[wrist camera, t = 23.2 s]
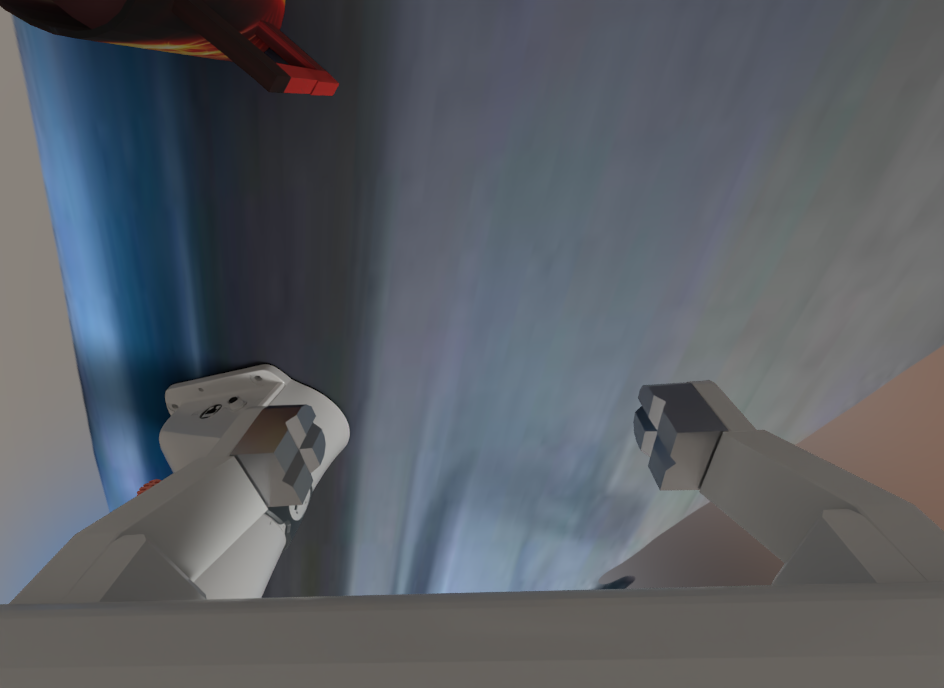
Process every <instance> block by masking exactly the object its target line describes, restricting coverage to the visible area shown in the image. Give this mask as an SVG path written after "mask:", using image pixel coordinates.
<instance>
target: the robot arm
mask: <svg viewBox="0 0 944 688" xmlns="http://www.w3.org/2000/svg"><path fill="white" fill-rule="evenodd" d="M638 399H639V401H640V403H641V405H642V406H641V407H640V408H639V409H638V410H637V411H636V412H635V416H634V422H633V423H634V434H635V437H636V441H637V443H638V446H639V448H640V450H641V451H642V452H644V453H645V454H646V455H648V456H649V457H650V460H649V464H648V467H649V469H650V471H651V473H652V475H653V477H654V479H655V481H656V483H657V485H658V487H659V489H660V490H700V491H699V492H700V493H701V494H703V495H704V496H705V497H706V498H707V499H709V500H710V501H711V502H712V503H713V504H715V505H716V506H717V507H718V508H719V509H721V510H722V511H723V512H724V513H725V514H727V515H728V516H729V517H730V518H731V519H733V520H734V521H735V522H736V523H737V524H739V525H740V526H741V527H742V528H743V529H745V530H746V531H747V532H748V533H749V534H750V535H752V536H753V537H754V538H756V540H758V541H759V542H760V543H761V544H763V545H764V546H765V547H766V548H767V549H768V550H770V551H771V552H772V553H773V554H774V555H776V556H777V557H778V558H779V559H780V560H782V561H783V562H784V563H785V565H784V566H783V567H782V569H781V570H780V572H779V573H778V574H777V576H776V577H775V579H774V581H773V583H772V585H767V586H727V587H688V588H687V587H685V588H649V589H648V588H646V589H603V590H562V591H521V592H480V593H441V594H402V595H363V596H323V597H283V598H261V597H262V595H263V592H264V590H265V588H266V586H267V583H268V581H269V579H270V577H271V574H272V572H273V570H274V568H275V565H276V563H277V561H278V559H279V557H280V555H281V552H283V551H285V550H286V549H287V548H288V547H289V545H290V543H291V541H292V539H293V537H294V535H295V533H296V531H297V529H298V527H299V525H300V523H301V521H302V519H303V517H304V514H305V512H306V509H307V507H308V504H309V501H310V498H311V495H312V492H313V490H314V488H315V487H316V485H317V483H318V482H319V480H320V479H321V477H322V475H323V474H324V472H325V471H326V469H327V468H328V467H329V465H330V464H331V463H332V461H333V460H334V459H335V458H336V456H337V455H338V454H339V453H340V452H341V451H342V450H343V449H344V448H345V446H346V445H347V443H348V440H349V436H350V430H349V425H348V422H347V420H346V418H345V416H344V415H343V413H342V412H341V410H340V409H339V408H338V407H337V406H336V405H335V404H334V403H333V402H332V401H331V400H330V399H328V398H327V397H326V396H324V395H323V394H321V393H319V392H318V391H316V390H314V389H312V388H310V387H308V386H305V385H303V384H300V383H298V382H296V381H294V380H292V379H291V378H290V377H288V376H287V375H286V374H284V373H283V372H282V371H280V370H279V369H278V368H276V367H274V366H272V365H269V364H263V365H258V366H254V367H249V368H245V369H240V370H236V371H231V372H227V373H222V374H218V375H213V376H209V377H204V378H200V379H195V380H190V381H186V382H181V383H177V384H173V385H171V386H170V387H169V388H168V389H167V390H166V392H165V401H166V405H167V408H168V411H169V413H170V415H171V417H170V418H169V419H168V420H167V421H166V422H165V424H164V425H163V427H162V429H161V431H160V435H159V442H160V447H161V449H162V452H163V454H164V456H165V458H166V460H167V461H168V463H169V465H170V467H171V469H172V471H173V473H174V474H172V475H170V476H169V477H167V478H166V479H164V480H162V481H161V480H158V479H156V480H152V481H149V483H147V484H144V485H143V486H144V487H141V488H140V489H139V490H140V491H138V492H137V494H138V495H137V497H135V498H133V499H132V500H130V501H128V502H127V503H125V504H124V505H122V506H120V507H119V508H117V509H116V510H114V511H112V512H111V513H109V514H108V515H106V516H104V517H103V518H101V519H99V520H98V521H96V522H95V523H93V524H91V525H90V526H88V527H87V528H85V529H83V530H82V531H80V532H79V533H77V534H75V535H74V536H73V537H72V538H71V539H70V540H69V542H68V543H67V544H66V545H65V546H64V547H63V548H62V549H61V550H60V551H59V552H58V553H57V554H56V555H55V556H54V557H53V558H52V559H51V560H50V561H49V562H48V564H47V565H46V566H45V567H44V568H43V569H42V570H41V571H40V572H39V573H38V574H37V575H36V576H35V577H34V578H33V579H32V580H31V581H30V582H29V583H28V585H27V586H26V587H25V588H24V589H23V590H22V591H21V592H20V593H19V594H18V595H17V596H16V597H15V598H14V599H13V600H12V601H11V602H10V603H9V604H3V605H0V688H944V531H943V530H942V529H940V528H939V527H938V526H937V525H936V524H935V523H934V522H933V521H932V520H931V519H929V518H928V517H927V516H926V515H925V514H924V513H923V512H922V511H921V510H919V509H918V508H917V507H916V506H915V505H913V504H912V503H910V502H907V501H906V500H904V499H902V498H900V497H898V496H896V495H894V494H892V493H890V492H888V491H886V490H883V489H882V488H880V487H878V486H876V485H874V484H872V483H870V482H867V481H866V480H864V479H861V478H860V477H858V476H856V475H854V474H852V473H850V472H847V471H845V470H844V469H842V468H840V467H837V466H835V465H834V464H831V463H829V462H827V461H825V460H823V459H821V458H819V457H817V456H815V455H813V454H811V453H809V452H807V451H805V450H803V449H801V448H799V447H797V446H795V445H793V444H791V443H789V442H787V441H785V440H783V439H781V438H779V437H777V436H775V435H773V434H771V433H769V432H767V431H765V430H756V429H755V428H754V426H753V425H752V424H751V423H750V422H749V421H748V420H747V419H746V417H745V416H744V415H743V414H742V413H741V412H740V411H739V410H738V408H737V407H736V406H735V405H734V404H733V403H732V402H731V400H730V399H729V398H728V397H727V396H726V395H725V394H724V393H723V391H722V390H721V389H720V388H719V387H718V386H717V385H716V384H715V383H714V382H712V381H710V380H706V381H693V382H686V383H670V384H654V385H643V386H642V387H641V389H640V392H639V396H638Z"/></svg>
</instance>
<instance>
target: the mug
mask: <svg viewBox="0 0 944 688" xmlns="http://www.w3.org/2000/svg"><path fill="white" fill-rule="evenodd" d="M0 6H1V7H2V8H3V9H5V10H6V11H8V12H10V13H11V14H13V15H15V16H16V17H18V18H20V19H21V20H23V21H25V22H27V23H28V24H30V25H32V26H35V27H37V28H40V29H42V30H45V31H47V32H50V33H52V34H56V35H61V36H66V37H72V38H77V39H84V40H91V41H97V42H104V43H111V44H118V45H124V46H131V47H138V48H144V49H151V50H158V51H165V52H171V53H178V54H185V55H191V56H198V57H205V58H212V59H218V60H225V61H232V62H234V63H235V64H237V65H238V66H239V67H240V68H242V69H243V70H244V71H245V72H246V73H248V74H249V75H250V76H251V77H253V78H254V79H255V80H256V81H257V82H258V83H259V84H260V85H262V86H263V87H264V88H265V89H266V90H267V91H268V92H277V93H304V94H311V95H326V96H333V94H334V92H335V91H336V89H337V87H338V85H339V83H338V82H337V81H336V80H335V79H334V78H333V77H332V76H331V75H330V74H329V73H328V72H327V71H325V70H324V69H323V68H322V67H321V66H320V65H319V64H317V63H316V62H315V61H314V60H313V59H312V58H311V57H310V56H308V55H307V54H306V53H305V52H304V51H303V50H302V49H300V48H299V47H298V46H297V45H296V44H295V43H294V42H292V41H291V40H290V39H289V38H288V37H287V36H286V35H284V34H283V33H282V32H281V31H280V28H281V25H282V20H283V16H284V12H285V0H0ZM269 47H270V48H271V49H272V50H273V51H275V52H276V53H277V54H278V55H279V56H280V57H282V58H283V59H284V60H285V61H286V62H287V63H289V64H290V65H286V64H280V63H275V62H274V61H273V60H272V59H271V58H269V57H268V56H267V55H266V54H265V53H264V52H265V51H266V50H267V49H268V48H269Z"/></svg>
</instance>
